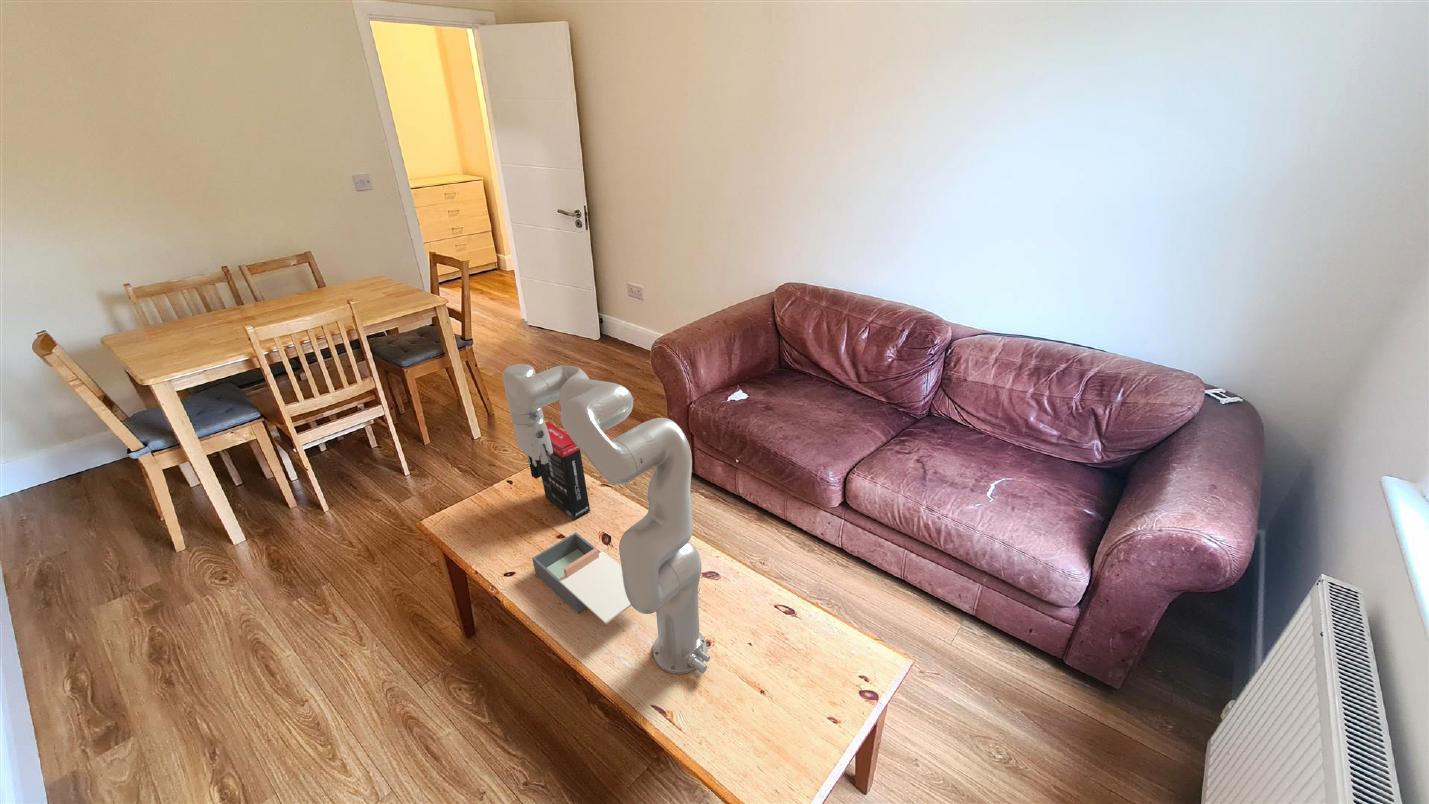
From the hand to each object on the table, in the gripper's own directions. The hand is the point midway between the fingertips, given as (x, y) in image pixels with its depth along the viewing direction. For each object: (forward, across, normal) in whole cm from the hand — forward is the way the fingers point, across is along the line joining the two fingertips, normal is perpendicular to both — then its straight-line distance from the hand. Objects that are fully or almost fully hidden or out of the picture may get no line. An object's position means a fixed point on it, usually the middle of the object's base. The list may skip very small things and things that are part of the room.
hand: (539, 475), depth 149 cm
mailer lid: (+23, -24, 0) cm, 33 cm away
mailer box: (+29, -11, 0) cm, 31 cm away
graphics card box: (+29, +18, -16) cm, 38 cm away
